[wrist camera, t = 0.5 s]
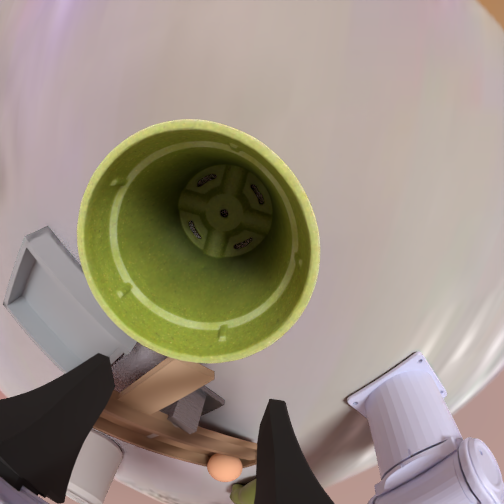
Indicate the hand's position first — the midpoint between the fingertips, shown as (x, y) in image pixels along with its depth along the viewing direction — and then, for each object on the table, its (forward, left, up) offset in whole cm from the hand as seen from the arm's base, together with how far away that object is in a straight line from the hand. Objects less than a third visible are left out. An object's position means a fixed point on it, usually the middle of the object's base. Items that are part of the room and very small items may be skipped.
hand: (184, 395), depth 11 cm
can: (-6, +34, -10) cm, 36 cm away
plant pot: (+4, -4, -10) cm, 11 cm away
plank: (-6, +9, -6) cm, 12 cm away
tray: (+8, +13, -10) cm, 18 cm away
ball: (-13, +13, -6) cm, 19 cm away
